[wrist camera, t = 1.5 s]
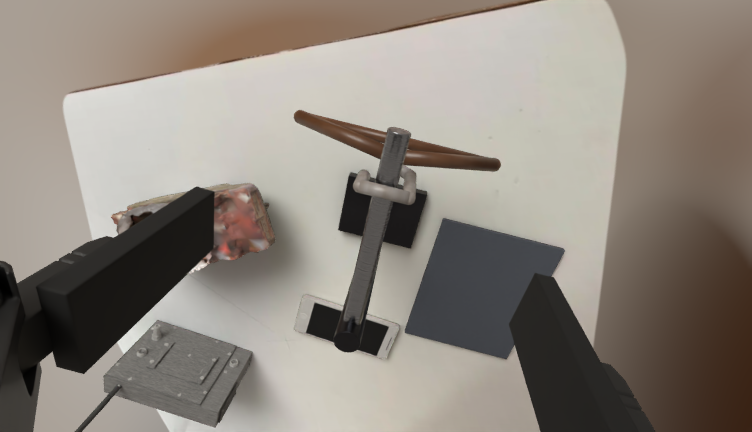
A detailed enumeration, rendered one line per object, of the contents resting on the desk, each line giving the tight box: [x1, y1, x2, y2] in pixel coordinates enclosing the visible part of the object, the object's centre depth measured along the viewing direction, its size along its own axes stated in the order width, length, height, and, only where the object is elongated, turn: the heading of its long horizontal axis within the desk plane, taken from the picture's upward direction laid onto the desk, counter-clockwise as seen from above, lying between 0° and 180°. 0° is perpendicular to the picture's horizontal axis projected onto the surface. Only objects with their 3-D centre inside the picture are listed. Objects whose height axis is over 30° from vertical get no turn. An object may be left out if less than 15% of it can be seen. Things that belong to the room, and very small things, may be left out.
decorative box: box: [111, 183, 275, 274], centre depth 45 cm, size 13×20×10 cm, turn 97°
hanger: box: [294, 110, 501, 205], centre depth 27 cm, size 19×1×14 cm, turn 78°
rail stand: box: [333, 127, 427, 352], centre depth 34 cm, size 20×10×24 cm, turn 168°
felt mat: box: [405, 218, 565, 359], centre depth 51 cm, size 16×20×1 cm
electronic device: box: [75, 320, 252, 432], centre depth 53 cm, size 17×7×20 cm, turn 73°
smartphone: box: [294, 294, 399, 359], centre depth 56 cm, size 7×16×1 cm, turn 73°
